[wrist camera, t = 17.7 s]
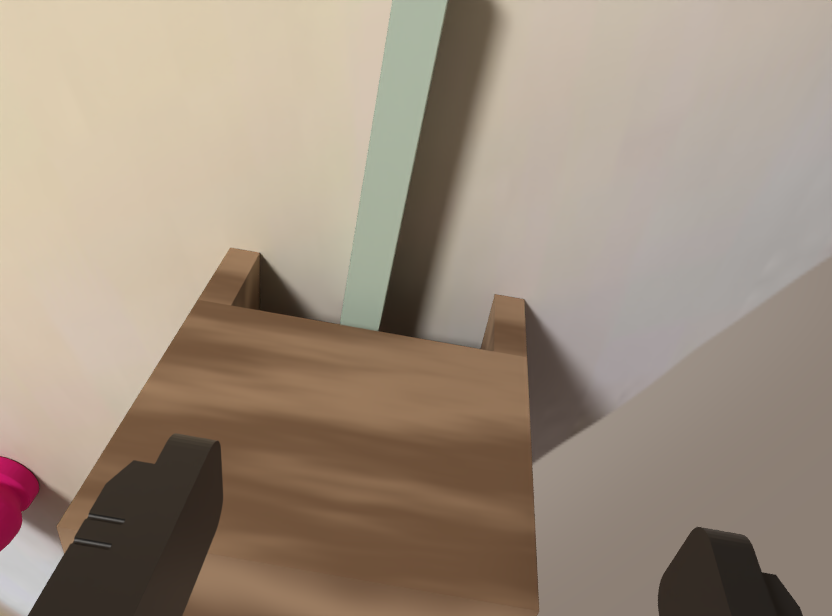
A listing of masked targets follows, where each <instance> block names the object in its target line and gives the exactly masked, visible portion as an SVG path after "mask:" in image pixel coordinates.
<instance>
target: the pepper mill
mask: <svg viewBox="0 0 832 616" xmlns="http://www.w3.org/2000/svg"><path fill="white" fill-rule="evenodd" d="M38 492H39V483H38V481H37V479H36V477H35V476H34V475H33V474H32V473H31V472H30V471H29V470H28V469H27V468H25V467H24V466H23V465H21V464H19V463H17V462H15V461H13V460H10V459H8V458H5V457H1V456H0V551H1V550H3V549H4V548H5V547H6V546H7V545H8V544H9V543H10V542H11V541H12V539H13V538H14V537H15V536H16V534H17V533H18V532H19V530H20V528H21V525H22V514H21V511H24V510H26V509H27V508H28V507H29V506H30V504H31V503H32V501H33V500H34V498H35V497H36V495H37V494H38Z"/></svg>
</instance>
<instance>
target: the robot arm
mask: <svg viewBox="0 0 832 616" xmlns="http://www.w3.org/2000/svg"><path fill="white" fill-rule="evenodd" d="M222 505H223V480H222V460H221V445H220V442H219V441H217V440H211V439H206V438H200V437H194V436H189V435H183V434H177V433H174V434H173V435H171V436H170V438H169V439H168V441H167V442H166V444H165V446H164V448H163V450H162V451H161V453H160V455H159V457H158V459H157V461H156V463H155V464H153V463H147V462H142V461H136V460H133V461H132V462H131V463H130V464H128V465H127V466H126V467H125V468H124V469H123V470H121V471H120V472H119V473H118V474H117V475H115V476H114V477H113V478H112V479H111V480H109V481H108V482H107V483H106V484H105V486H104V488H103V489H102V491H101V493H100V494H99V496H98V498H97V499H96V501H95V503H94V505H93V506H92V508H91V510H90V511H89V515H88V518H87V519H85V520H84V521H83V523H82V525H81V527H80V528H79V530H78V532H77V533H76V535H75V537H74V541H73V543H72V544H71V543H70V545H69V547H68V549H67V550H66V552H65V554H64V555H63V557H62V559H61V560H60V562H59V564H58V565H57V567H56V569H55V571H54V572H53V574H52V576H51V577H50V579H49V581H48V582H47V584H46V586H45V587H44V589H43V591H42V593H41V594H40V596H39V598H38V599H37V601H36V603H35V604H34V606H33V608H32V609H31V611H30V613H29V615H28V616H183V613H184V611H185V608H186V606H187V603H188V601H189V598H190V596H191V593H192V591H193V588H194V586H195V583H196V581H197V578H198V575H199V573H200V570H201V568H202V565H203V563H204V560H205V558H206V555H207V553H208V550H209V548H210V545H211V543H212V540H213V538H214V535H215V533H216V530H217V527H218V523H219V520H220V516H221V511H222ZM658 609H659V616H803V615H802V612H801V610H800V607H799V606H798V605H797V603H796V602H795V600H794V599H793V598H792V596H791V595H790V593H789V592H788V591H787V589H786V588H785V587H784V585H783V584H782V583H781V581H780V580H779V579H778V577H777V576H776V575H773V574H767V573H762V572H761V569H760V566H759V564H758V560H757V557H756V555H755V551H754V549H753V546H752V544H751V543H750V541H749V539H748V538H747V537H746V536H744V535H741V534H736V533H730V532H724V531H719V530H713V529H707V528H701V527H697V528H695V529H693V530H692V532H691V533H690V534H689V536H688V537H687V539H686V541H685V542H684V544H683V545H682V547H681V548H680V550H679V551H678V553H677V554H676V556H675V558H674V559H673V560H672V562H671V563H670V565H669V567H668V568H667V570H666V571H665V573H664V574H663V577H662V579H661V582H660V586H659V593H658Z"/></svg>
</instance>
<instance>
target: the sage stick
mask: <svg viewBox="0 0 832 616" xmlns="http://www.w3.org/2000/svg"><path fill="white" fill-rule="evenodd" d="M448 1H449V0H392V7H391V13H390V19H389V25H388V31H387V37H386V43H385V50H384V56H383V62H382V68H381V74H380V80H379V86H378V93H377V99H376V105H375V111H374V117H373V123H372V129H371V136H370V142H369V148H368V154H367V160H366V166H365V173H364V179H363V185H362V191H361V197H360V203H359V209H358V216H357V222H356V228H355V234H354V240H353V246H352V252H351V259H350V265H349V271H348V277H347V283H346V289H345V295H344V302H343V308H342V314H341V320H340V325H345V326H351V327H357V328H363V329H368V330H374V331H379V327H380V323H381V319H382V314H383V310H384V306H385V301H386V296H387V291H388V287H389V282H390V277H391V272H392V267H393V263H394V258H395V253H396V248H397V244H398V239H399V234H400V229H401V225H402V220H403V215H404V210H405V206H406V201H407V196H408V191H409V186H410V182H411V177H412V172H413V167H414V163H415V158H416V153H417V148H418V144H419V139H420V134H421V129H422V125H423V120H424V115H425V110H426V106H427V101H428V96H429V91H430V86H431V82H432V77H433V72H434V67H435V63H436V58H437V53H438V48H439V44H440V39H441V34H442V29H443V25H444V20H445V15H446V10H447V6H448Z"/></svg>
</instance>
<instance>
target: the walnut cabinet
mask: <svg viewBox="0 0 832 616" xmlns="http://www.w3.org/2000/svg"><path fill="white" fill-rule="evenodd" d="M174 433H177V434H183V435H189V436H194V437H200V438H206V439H211V440H217V441H219V442H220V445H221V460H222V480H223V505H222V511H221V516H220V520H219V523H218V527H217V530H216V533H215V535H214V538H213V540H212V543H211V545H210V548H209V550H208V553H207V555H206V558H205V560H204V563H203V565H202V568H201V570H200V573H199V575H198V578H197V581H196V583H195V586H194V588H193V591H192V593H191V596H190V598H189V601H188V603H187V606H186V608H185V611H184V613H183V616H537V615H538V612H539V599H538V598H539V597H538V576H537V556H536V535H535V514H534V493H533V474H532V473H533V472H532V451H531V430H530V409H529V388H528V367H527V346H526V325H525V304H524V299H519V298H513V297H508V296H502V295H496V294H495V296H494V300H493V303H492V307H491V311H490V315H489V319H488V322H487V326H486V330H485V334H484V338H483V342H482V345H481V349H476V348H471V347H465V346H459V345H454V344H448V343H442V342H437V341H431V340H425V339H420V338H414V337H408V336H402V335H397V334H391V333H385V332H380V331H374V330H368V329H363V328H357V327H351V326H345V325H340V324H334V323H328V322H323V321H317V320H311V319H306V318H300V317H294V316H288V315H283V314H277V313H271V312H266V311H260V253H257V252H252V251H246V250H240V249H235V248H230V249H229V251H228V252H227V254H226V255H225V257H224V259H223V260H222V262H221V264H220V265H219V267H218V268H217V270H216V272H215V273H214V275H213V276H212V278H211V280H210V281H209V283H208V284H207V286H206V288H205V289H204V291H203V292H202V294H201V296H200V297H199V299H198V300H197V302H196V304H195V305H194V307H193V308H192V310H191V312H190V313H189V315H188V316H187V318H186V320H185V321H184V323H183V324H182V326H181V328H180V329H179V331H178V332H177V334H176V336H175V337H174V339H173V340H172V342H171V344H170V345H169V347H168V349H167V350H166V352H165V353H164V355H163V357H162V358H161V360H160V361H159V363H158V365H157V366H156V368H155V369H154V371H153V373H152V374H151V376H150V377H149V379H148V381H147V382H146V384H145V385H144V387H143V389H142V390H141V392H140V393H139V395H138V397H137V398H136V400H135V401H134V403H133V405H132V406H131V408H130V409H129V411H128V413H127V414H126V416H125V417H124V419H123V421H122V422H121V424H120V425H119V427H118V429H117V430H116V432H115V434H114V435H113V437H112V438H111V440H110V442H109V443H108V445H107V446H106V448H105V450H104V451H103V453H102V454H101V456H100V458H99V459H98V461H97V462H96V464H95V466H94V467H93V469H92V470H91V472H90V474H89V475H88V477H87V478H86V480H85V482H84V483H83V485H82V486H81V488H80V490H79V491H78V493H77V494H76V496H75V498H74V499H73V501H72V502H71V504H70V506H69V507H68V509H67V510H66V512H65V514H64V515H63V517H62V519H61V520H60V522H59V523H58V525H57V527H56V528H57V531H58V534H59V538H60V541H61V544H62V548H63V551H64V554H65V552H66V550H67V549H68V547H69V545H70V543H71V544H72V543H73V541H74V537H75V535H76V533H77V532H78V530H79V528H80V527H81V525H82V523H83V521H84V520H85V519H87V518H88V515H89V511H90V510H91V508H92V506H93V505H94V503H95V501H96V499H97V498H98V496H99V494H100V493H101V491H102V489H103V488H104V486H105V484H106V483H107V482H108V481H109V480H111V479H112V478H113V477H114V476H115V475H117V474H118V473H119V472H120V471H121V470H123V469H124V468H125V467H126V466H127V465H128V464H130V463H131V462H132V461H133V460H136V461H142V462H147V463H153V464H155V463H156V461H157V459H158V457H159V455H160V453H161V451H162V450H163V448H164V446H165V444H166V442H167V441H168V439H169V438H170V436H171V435H173V434H174Z"/></svg>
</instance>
